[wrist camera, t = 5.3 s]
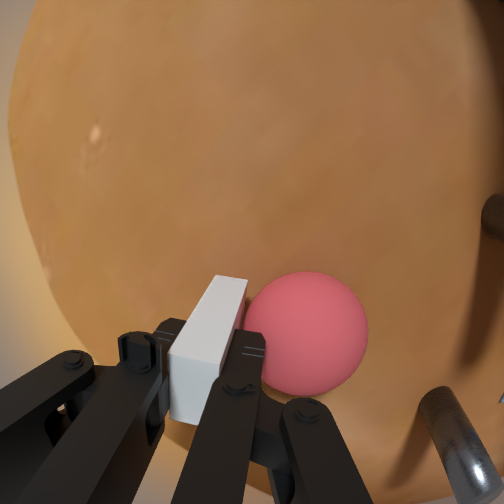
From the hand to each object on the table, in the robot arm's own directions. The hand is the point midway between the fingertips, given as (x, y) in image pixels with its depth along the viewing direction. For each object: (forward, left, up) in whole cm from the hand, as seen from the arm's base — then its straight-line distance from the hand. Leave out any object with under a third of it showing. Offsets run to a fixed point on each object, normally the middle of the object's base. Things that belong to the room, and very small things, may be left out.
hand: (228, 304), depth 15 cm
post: (+7, +14, -2) cm, 16 cm away
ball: (0, +4, +1) cm, 4 cm away
